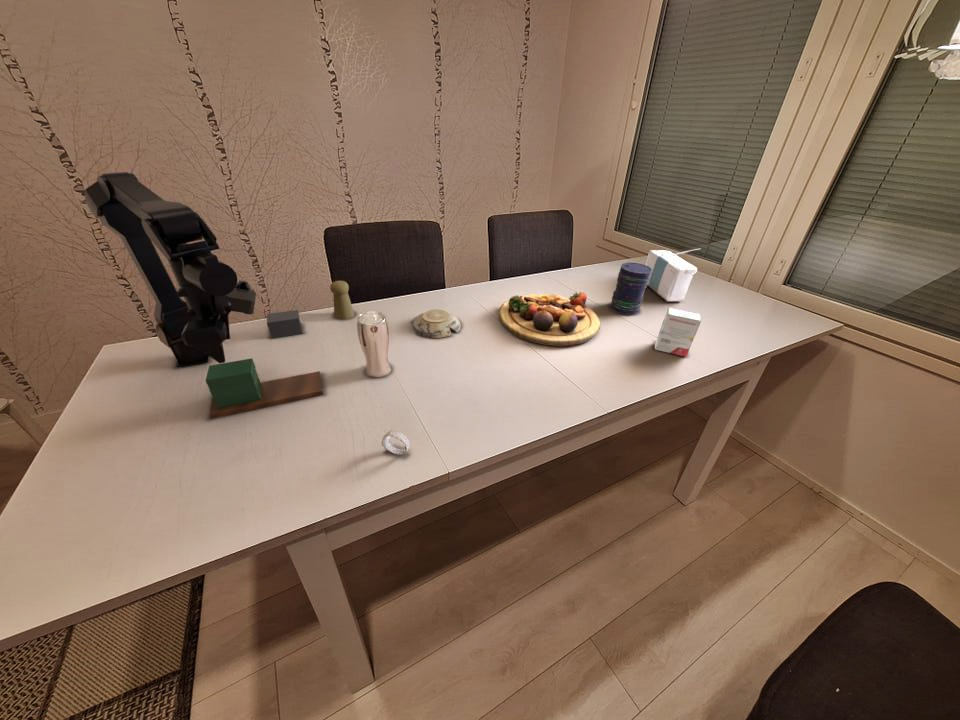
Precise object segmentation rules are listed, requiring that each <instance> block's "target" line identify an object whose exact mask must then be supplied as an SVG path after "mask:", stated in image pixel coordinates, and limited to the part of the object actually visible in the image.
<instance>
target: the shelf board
mask: <svg viewBox="0 0 960 720" xmlns="http://www.w3.org/2000/svg"><path fill="white" fill-rule="evenodd" d="M260 382H261V381H260ZM322 382H323V381H322V376H321V372H320V370H318V371H313V372H309V373H302V374H297V375H293V376H292V375H291V376H287V377H282V378H277V379H272V380H266V381H262V382H261V385H262V386H261V400H258V401H253V402H248V403H243V404H239V405H234V406H229V407H224V408H219V409H218V408H217V405H216V403H215V401H214V399H213V397H212V399H211V403H210V408H209V412H208V416H209V418H210V419H216V418H221V417H225V416H230V415H235V414H239V413H244V412H249V411H253V410H258V409H263V408H267V407H272V406H277V405H281V404H285V403H290V402H295V401H300V400H304V399H309V398H314V397H318V396H323V395H324V387H323V383H322Z"/></svg>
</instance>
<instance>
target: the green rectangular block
mask: <svg viewBox="0 0 960 720" xmlns="http://www.w3.org/2000/svg"><path fill="white" fill-rule="evenodd" d="M255 369H256V370H257V367H256V365H255V362H254V359H253V358H252V357H251V358H244V359H240V360H234V361H228V362H224V363H217V364H210V365H208V368H207V372H206V377H205V383H206V386H207V387H208V390H213V389H218V388H224V387H229V386H234V385H239V384H245V383H250V382H254V380H255Z"/></svg>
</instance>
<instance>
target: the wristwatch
mask: <svg viewBox="0 0 960 720" xmlns="http://www.w3.org/2000/svg"><path fill="white" fill-rule="evenodd" d="M392 437H393V438H395V439H397V440H399V441H400V442H402V443H403V444H404V448H397V447H395V446H394V445H393V444H391V442H390V439H391V438H392ZM381 446H382V447H383V448H384V449H386V450H387V451H388V452H390V453H391V454H392V455H393V454H394V455H396V456H403V455H406V454H407V453H408V451H409V449H410V447H411V442H410V439H409V437H408V436H406V435H405V434H403V433H402V432H400V431H398V430H389V431H387V432H386V433H385V434H384V435H383V437H382V440H381Z"/></svg>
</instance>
